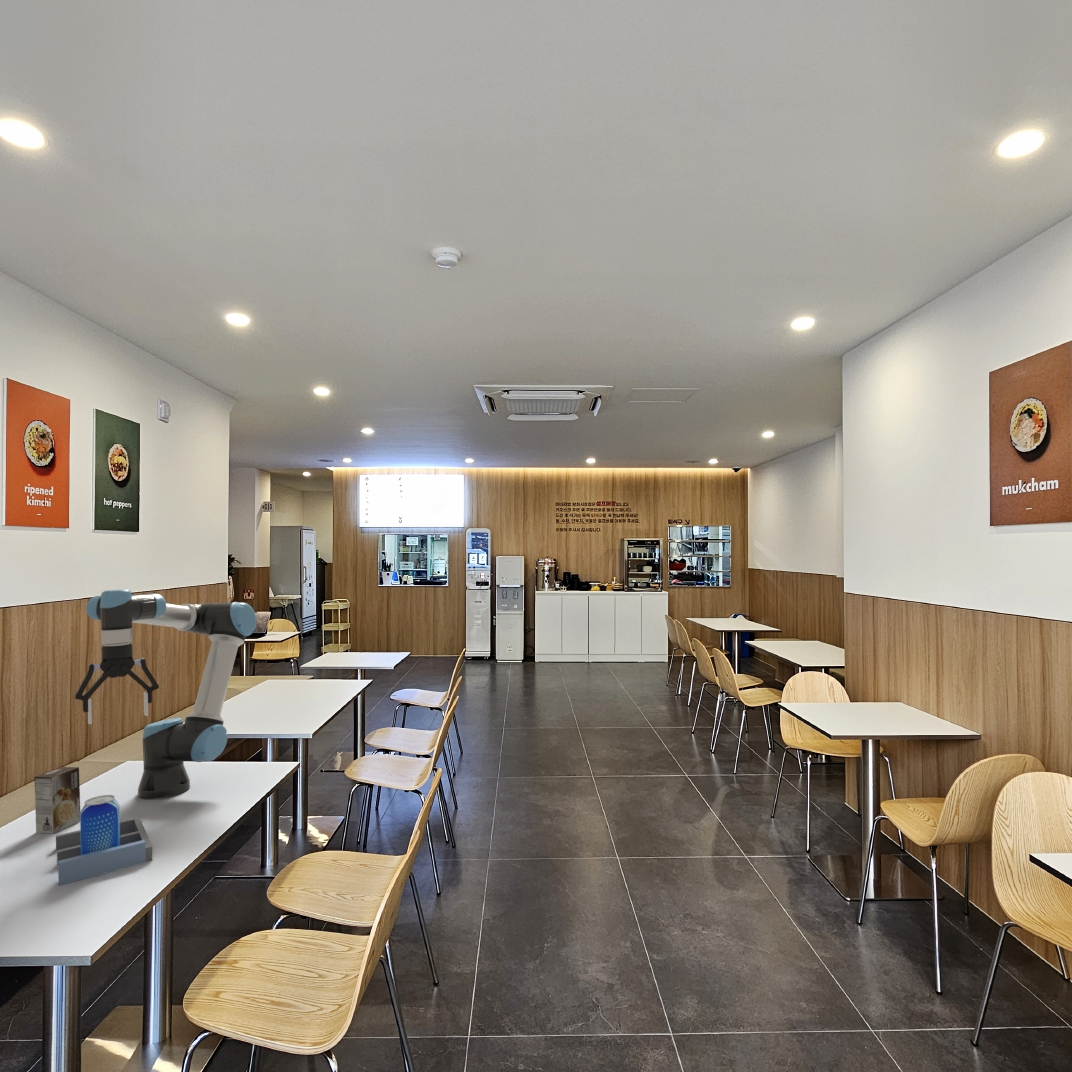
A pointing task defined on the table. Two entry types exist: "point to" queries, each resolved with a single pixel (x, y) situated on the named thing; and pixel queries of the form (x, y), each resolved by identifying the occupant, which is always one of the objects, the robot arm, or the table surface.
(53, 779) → the coffee box
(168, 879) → the table surface
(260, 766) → the table surface
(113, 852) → the divided slot tray
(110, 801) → the beer can
